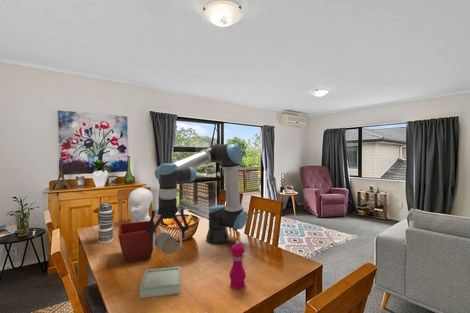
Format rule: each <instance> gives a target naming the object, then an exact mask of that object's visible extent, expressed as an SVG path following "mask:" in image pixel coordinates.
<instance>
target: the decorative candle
mask: <svg viewBox="0 0 470 313" xmlns="http://www.w3.org/2000/svg"><path fill="white" fill-rule="evenodd" d="M113 215H114V210H113V204H111V202H103V203H102V202H101V203H100V204H99V205H98V214H97V219H98V221H97V222H98V224H97V225H98V227H99V228H98V239H97V240H98V243H99V244H107V243H111V242H112V241H113V240H114V238H113V237H114V234H113V233H114V232H113V230H114V229H113V223H114V222H113V220H114V216H113Z"/></svg>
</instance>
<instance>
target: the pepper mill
mask: <svg viewBox="0 0 470 313" xmlns="http://www.w3.org/2000/svg"><path fill="white" fill-rule="evenodd" d="M230 253H231V259H232V260H233V261H232V266H231V269H230V271H229V279H230V287H231V288H232V289H235V290H240V289H243V288H244V287H245V280H246V270H245V269H244V266H243V259H244V253H245V247H244V245H243V244H241V243H240V241H239V240H236V241H235V243H234V244H233V245H232V246H231V248H230Z"/></svg>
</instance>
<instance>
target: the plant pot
mask: <svg viewBox="0 0 470 313" xmlns="http://www.w3.org/2000/svg"><path fill="white" fill-rule="evenodd" d="M149 222H150V221H144V222H135V223H130V222H127V223H120V224H119V227H118V232H117V233H118V240H119V245H120V250H121V253H122V255H123V259H124V260H125V261H124V262H126V263H129V262H134V261H135V262H136V261H140V260H147V259H151V257H152V254H153V250H154V249H153V241H151V240H150V233H149V232H146V230H147V227H148V224H149ZM155 224H156V222H155V220H153V222H152V225H151V227H150V229H152V228H153V227H154V225H155ZM154 232H155V239H156V238H157V228H156V229H155V231H154Z"/></svg>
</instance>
